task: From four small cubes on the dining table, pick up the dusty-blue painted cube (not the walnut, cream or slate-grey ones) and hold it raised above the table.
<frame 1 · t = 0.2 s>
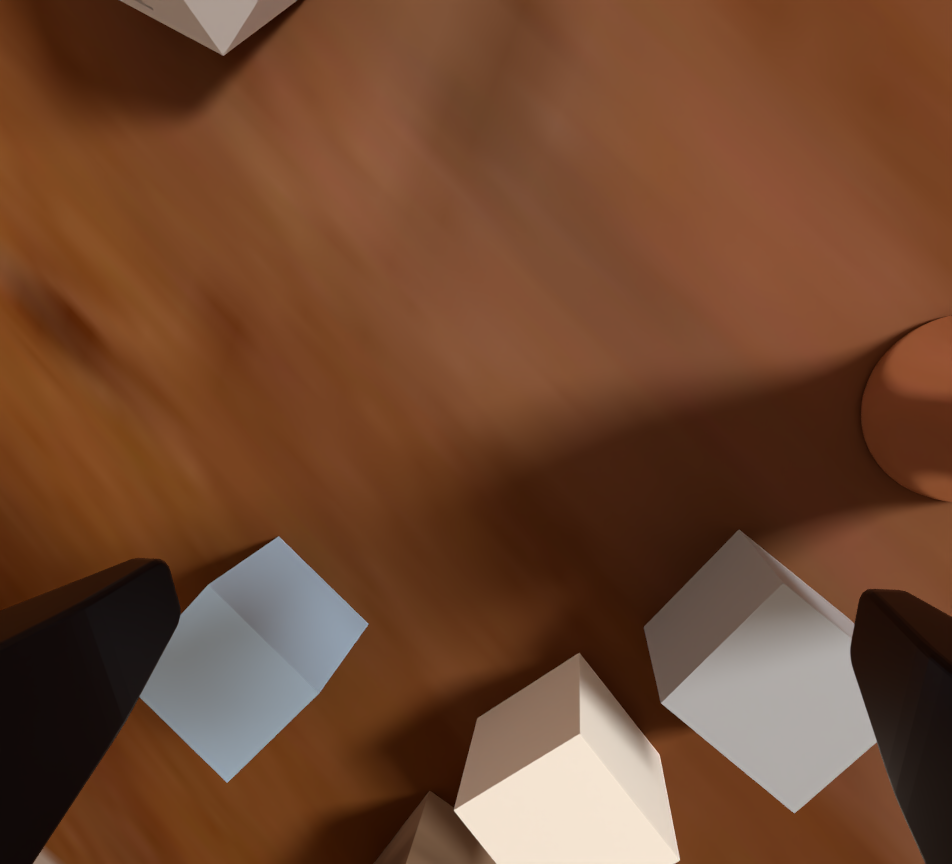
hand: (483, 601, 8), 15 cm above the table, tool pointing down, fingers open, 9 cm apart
grey cube: (743, 622, 23), on the table
cream cube: (566, 734, 25), on the table
blue cube: (286, 619, 26), on the table
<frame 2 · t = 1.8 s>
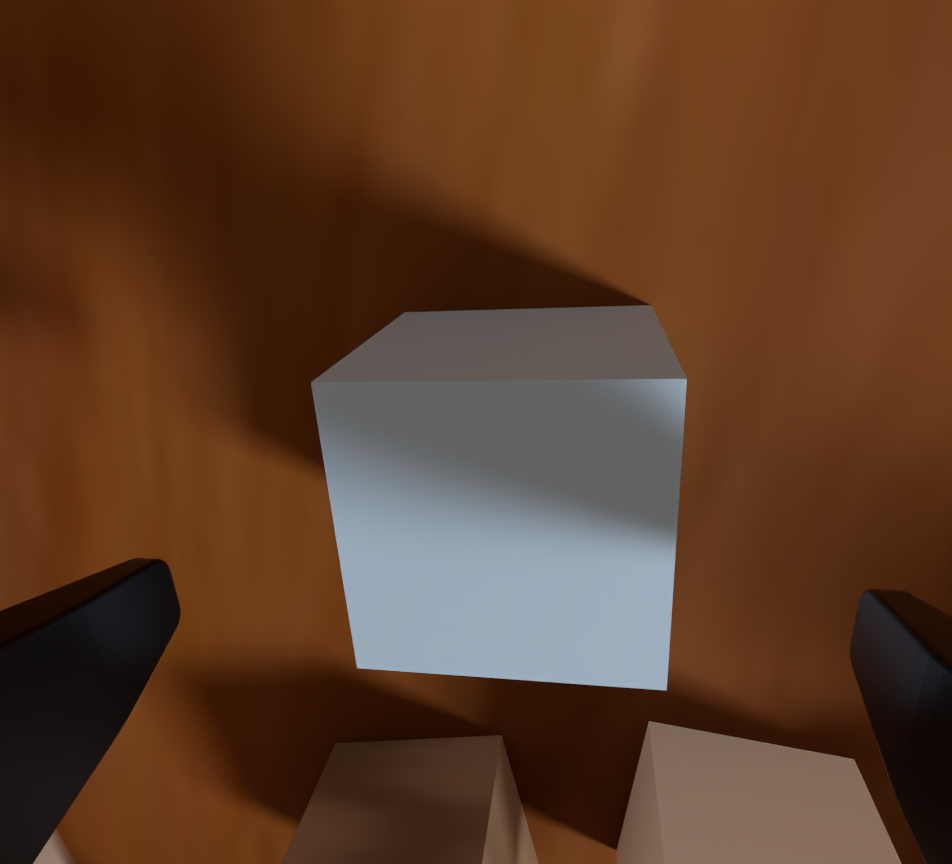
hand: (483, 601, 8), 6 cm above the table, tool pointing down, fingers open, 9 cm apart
cream cube: (725, 805, 17), on the table
blue cube: (527, 422, 14), on the table
walnut cube: (438, 800, 19), on the table
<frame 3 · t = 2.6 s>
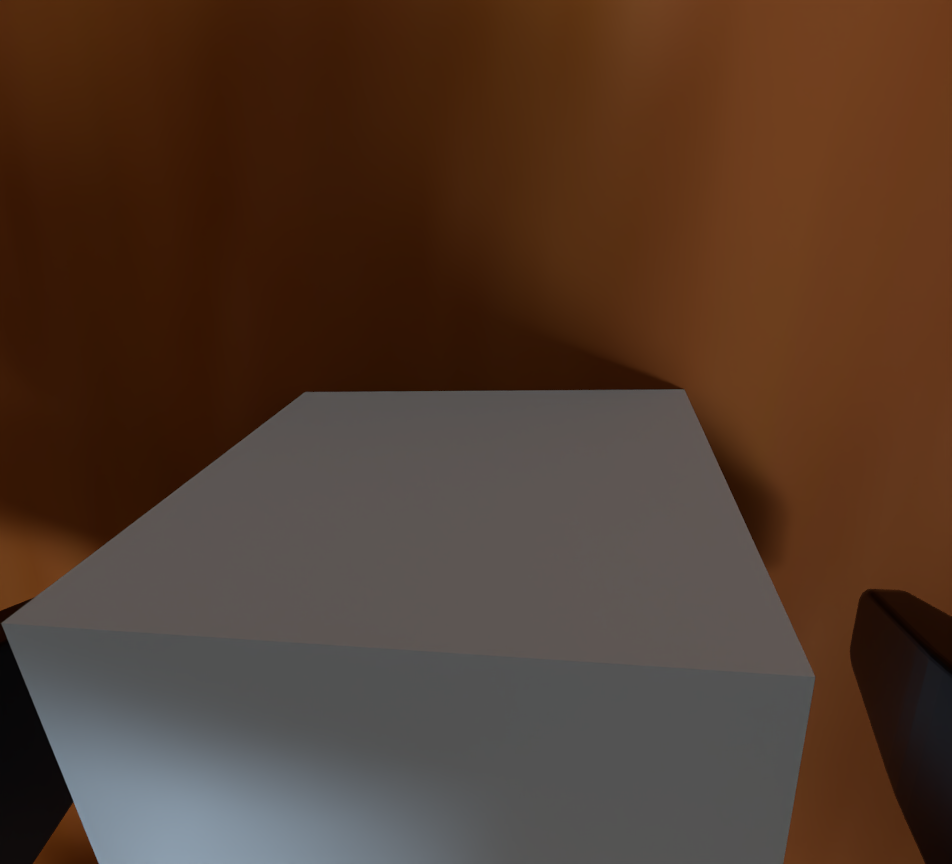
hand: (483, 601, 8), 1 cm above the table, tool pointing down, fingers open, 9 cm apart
blue cube: (494, 552, 9), on the table
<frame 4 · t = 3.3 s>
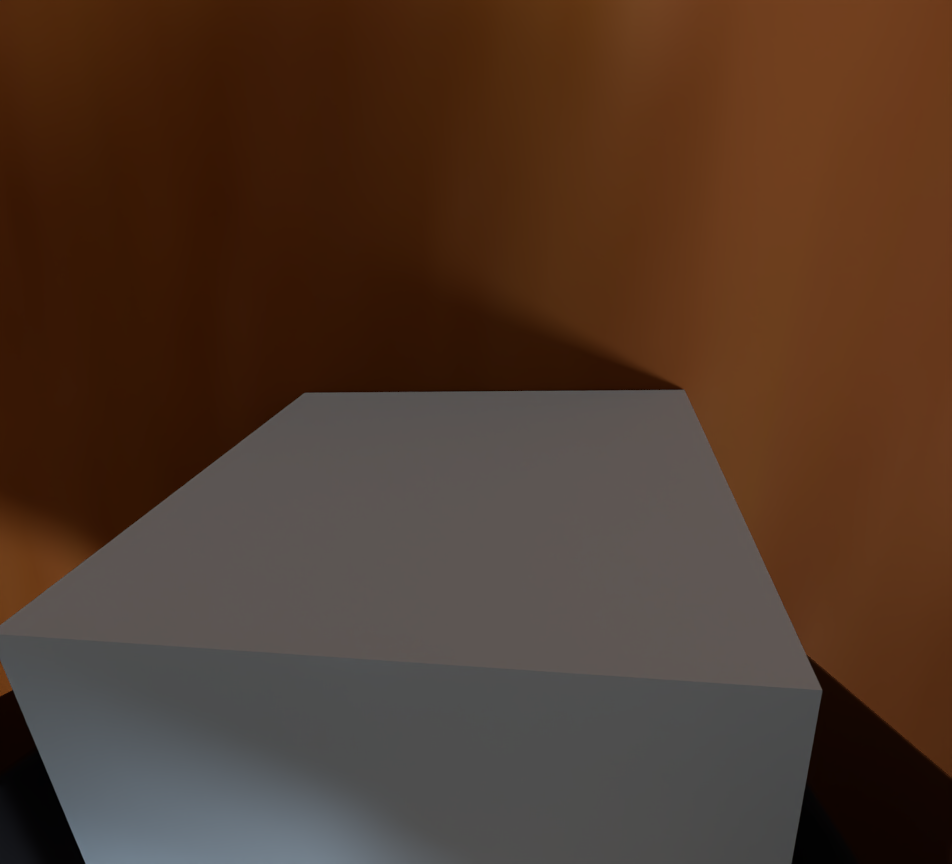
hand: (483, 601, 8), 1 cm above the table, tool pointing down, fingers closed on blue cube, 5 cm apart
blue cube: (494, 555, 9), on the table, touching gripper
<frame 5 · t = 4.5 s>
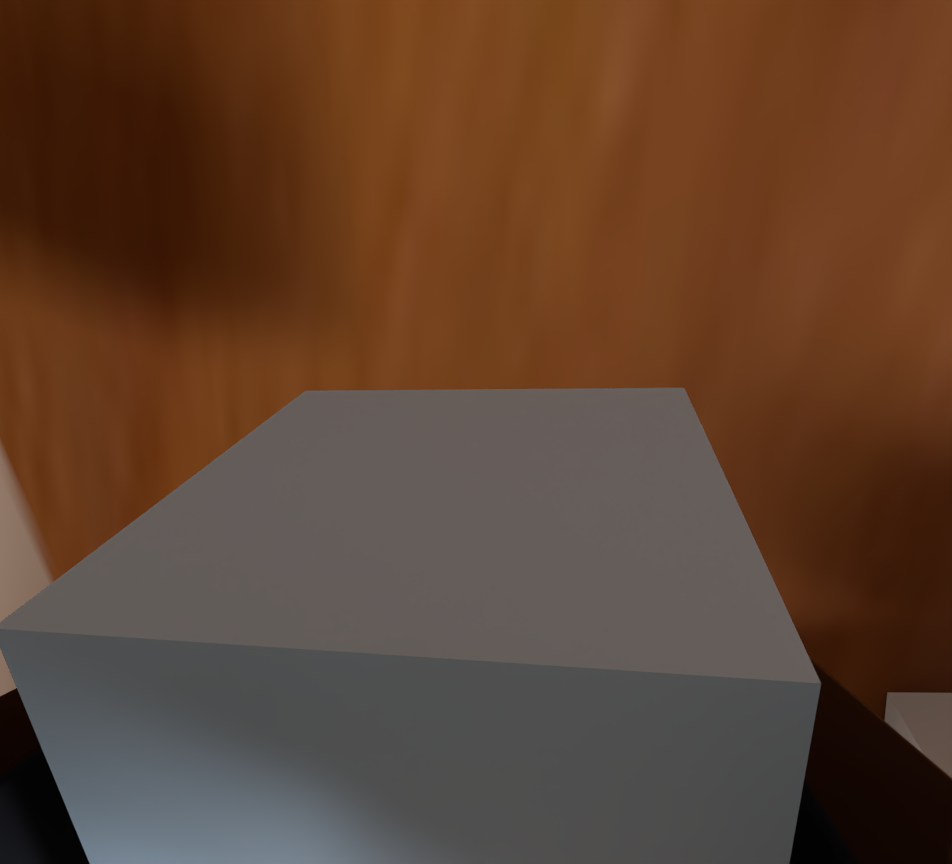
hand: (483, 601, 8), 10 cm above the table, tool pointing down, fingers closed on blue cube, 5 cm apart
blue cube: (494, 553, 9), point 9 cm above the table, touching gripper
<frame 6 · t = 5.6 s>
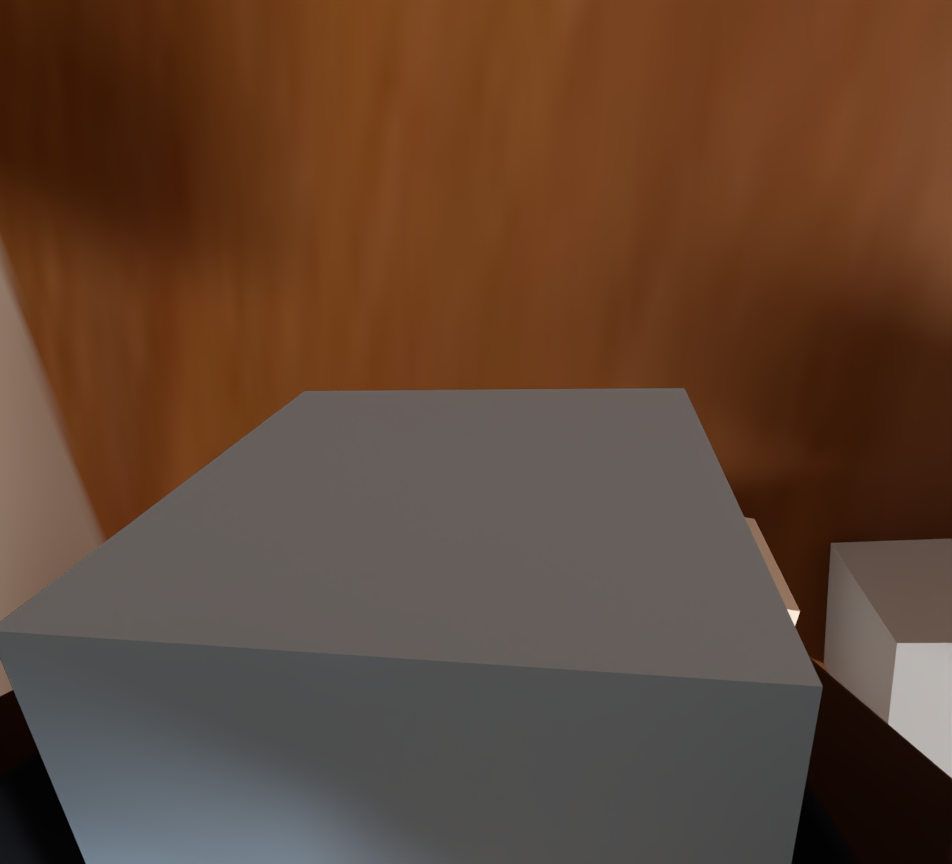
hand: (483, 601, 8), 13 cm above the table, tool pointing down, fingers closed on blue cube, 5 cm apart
grey cube: (906, 602, 21), on the table
cream cube: (663, 568, 22), on the table
blue cube: (494, 554, 9), point 12 cm above the table, touching gripper
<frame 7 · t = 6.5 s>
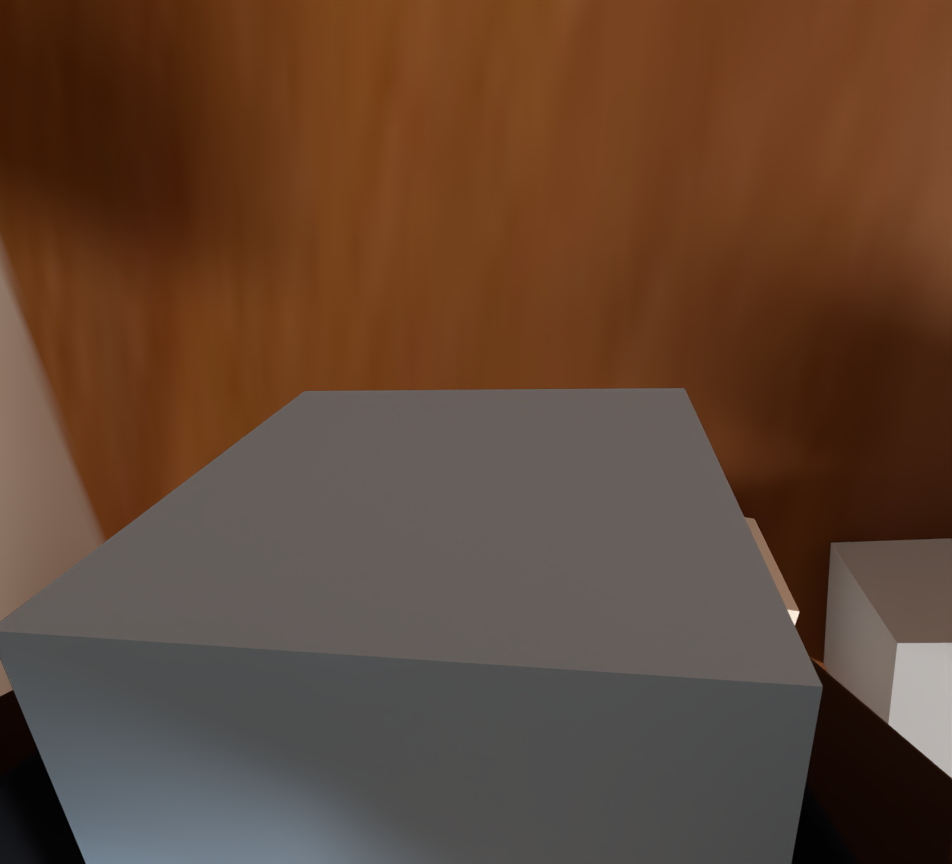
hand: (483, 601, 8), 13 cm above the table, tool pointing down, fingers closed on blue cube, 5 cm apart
grey cube: (906, 602, 21), on the table
cream cube: (663, 567, 22), on the table
blue cube: (494, 554, 9), point 12 cm above the table, touching gripper
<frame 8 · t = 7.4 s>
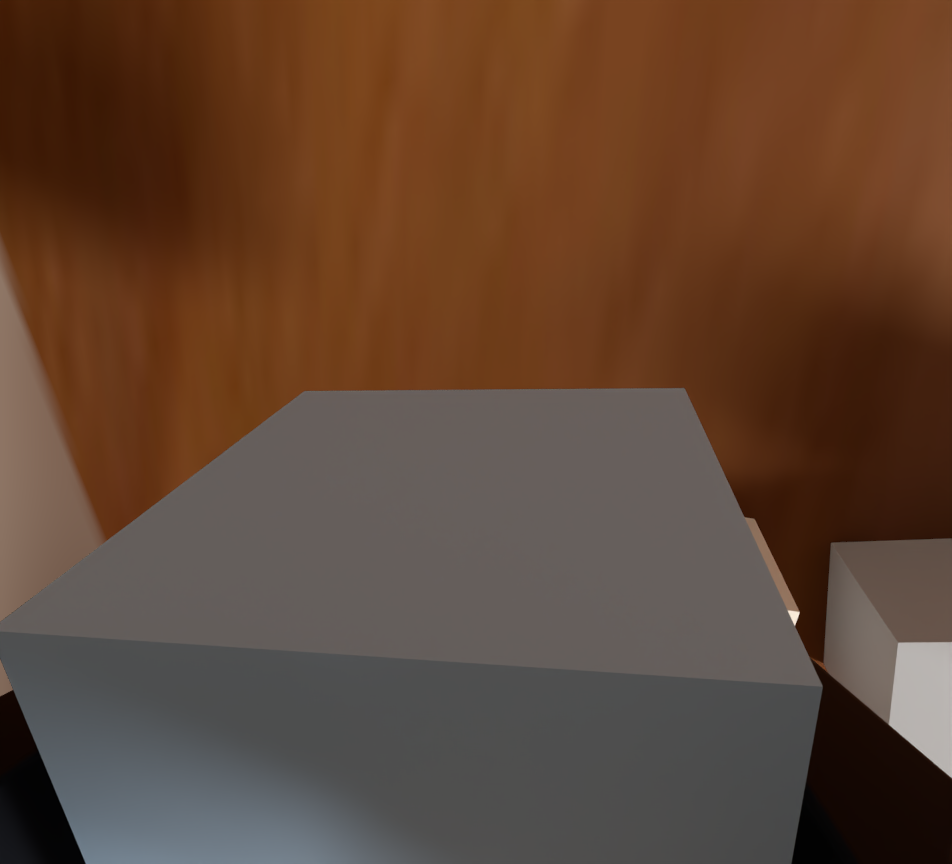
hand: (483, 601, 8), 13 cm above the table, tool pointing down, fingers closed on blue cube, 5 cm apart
grey cube: (906, 602, 21), on the table
cream cube: (663, 567, 22), on the table
blue cube: (494, 554, 9), point 12 cm above the table, touching gripper
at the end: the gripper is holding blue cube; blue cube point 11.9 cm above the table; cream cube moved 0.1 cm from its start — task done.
